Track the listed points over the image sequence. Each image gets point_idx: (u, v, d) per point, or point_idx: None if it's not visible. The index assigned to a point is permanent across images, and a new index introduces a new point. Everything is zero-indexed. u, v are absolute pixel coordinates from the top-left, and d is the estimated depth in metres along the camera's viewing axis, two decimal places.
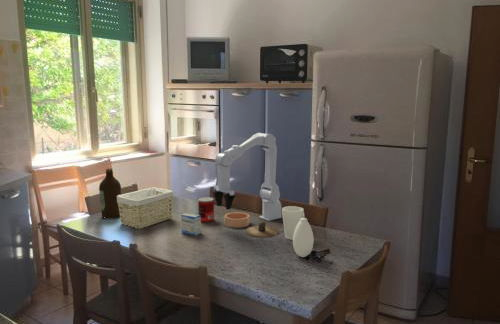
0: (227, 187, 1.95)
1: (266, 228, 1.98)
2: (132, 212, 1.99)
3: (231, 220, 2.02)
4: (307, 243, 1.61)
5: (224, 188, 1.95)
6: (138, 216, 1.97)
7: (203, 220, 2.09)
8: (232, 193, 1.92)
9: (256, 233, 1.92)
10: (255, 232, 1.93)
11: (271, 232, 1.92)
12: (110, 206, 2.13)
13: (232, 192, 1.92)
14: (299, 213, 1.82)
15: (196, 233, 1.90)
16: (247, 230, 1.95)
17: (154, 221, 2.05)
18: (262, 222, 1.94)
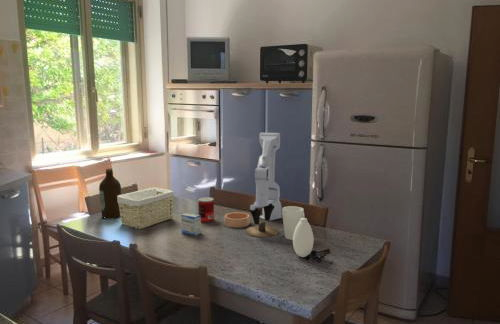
0: (258, 202, 1.91)
1: (266, 228, 1.98)
2: (133, 212, 1.99)
3: (231, 220, 2.02)
4: (307, 243, 1.61)
5: (256, 202, 1.92)
6: (139, 216, 1.97)
7: (203, 220, 2.09)
8: (251, 208, 1.88)
9: (256, 233, 1.92)
10: (255, 232, 1.93)
11: (271, 232, 1.92)
12: (110, 206, 2.13)
13: (251, 207, 1.88)
14: (299, 213, 1.82)
15: (196, 233, 1.90)
16: (247, 230, 1.95)
17: (155, 221, 2.05)
18: (262, 222, 1.94)
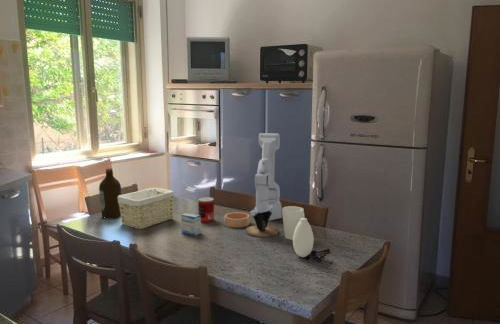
0: (258, 207, 1.91)
1: (266, 227, 1.98)
2: (133, 212, 1.99)
3: (231, 220, 2.02)
4: (307, 243, 1.61)
5: (256, 207, 1.92)
6: (139, 216, 1.97)
7: (203, 220, 2.09)
8: (251, 214, 1.88)
9: (256, 232, 1.92)
10: (255, 231, 1.93)
11: (271, 232, 1.92)
12: (110, 206, 2.13)
13: (251, 213, 1.88)
14: (299, 213, 1.82)
15: (196, 233, 1.90)
16: (247, 229, 1.95)
17: (155, 221, 2.05)
18: (262, 221, 1.94)
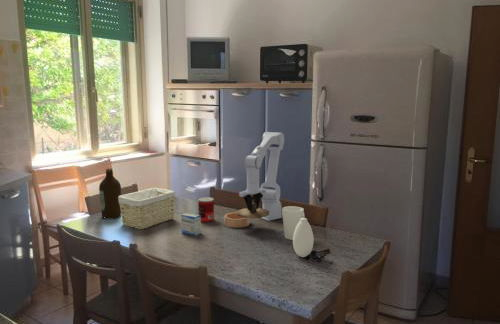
0: (248, 189, 1.95)
1: (258, 210, 2.01)
2: (134, 212, 1.99)
3: (231, 220, 2.02)
4: (307, 243, 1.61)
5: (247, 189, 1.96)
6: (140, 216, 1.96)
7: (203, 220, 2.09)
8: (240, 194, 1.93)
9: (245, 213, 1.95)
10: (246, 212, 1.96)
11: (260, 213, 1.95)
12: (110, 206, 2.13)
13: (240, 193, 1.93)
14: (299, 213, 1.82)
15: (196, 233, 1.90)
16: (239, 211, 2.00)
17: (156, 221, 2.04)
18: (253, 203, 1.97)
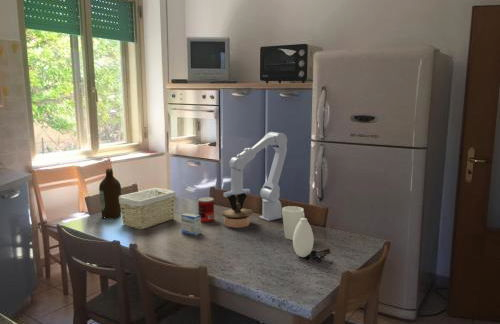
0: (232, 190, 2.03)
1: (243, 210, 2.09)
2: (134, 213, 1.98)
3: (231, 220, 2.02)
4: (307, 243, 1.61)
5: (231, 190, 2.04)
6: (140, 217, 1.96)
7: (203, 220, 2.09)
8: (224, 195, 2.01)
9: (230, 213, 2.03)
10: (230, 212, 2.04)
11: (244, 213, 2.02)
12: (110, 206, 2.13)
13: (224, 194, 2.01)
14: (299, 213, 1.82)
15: (196, 233, 1.90)
16: (224, 211, 2.08)
17: (156, 222, 2.04)
18: (237, 203, 2.05)
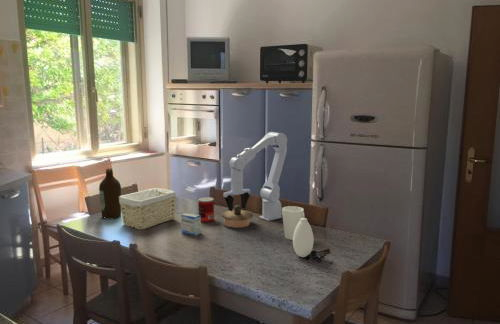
0: (232, 190, 2.03)
1: (243, 212, 2.09)
2: (135, 213, 1.98)
3: (231, 220, 2.02)
4: (307, 243, 1.61)
5: (231, 190, 2.04)
6: (141, 217, 1.96)
7: (203, 220, 2.09)
8: (224, 195, 2.01)
9: (230, 215, 2.03)
10: (230, 215, 2.05)
11: (244, 216, 2.03)
12: (110, 206, 2.13)
13: (224, 194, 2.01)
14: (299, 213, 1.82)
15: (196, 233, 1.90)
16: (224, 213, 2.08)
17: (157, 222, 2.04)
18: (237, 206, 2.05)
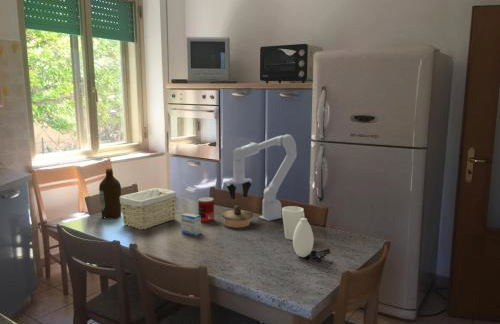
0: (234, 179, 2.13)
1: (243, 212, 2.09)
2: (135, 213, 1.98)
3: (231, 220, 2.02)
4: (307, 243, 1.61)
5: (233, 179, 2.14)
6: (141, 217, 1.96)
7: (203, 220, 2.09)
8: (227, 184, 2.11)
9: (230, 215, 2.03)
10: (230, 215, 2.05)
11: (244, 216, 2.03)
12: (110, 206, 2.13)
13: (227, 183, 2.11)
14: (299, 213, 1.82)
15: (196, 233, 1.90)
16: (224, 213, 2.08)
17: (157, 222, 2.04)
18: (237, 206, 2.05)
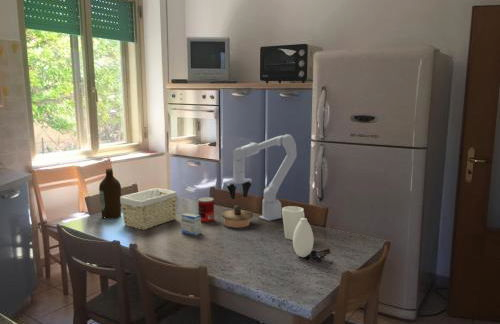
0: (234, 179, 2.13)
1: (243, 212, 2.09)
2: (136, 213, 1.98)
3: (231, 220, 2.02)
4: (307, 243, 1.61)
5: (233, 179, 2.14)
6: (142, 217, 1.95)
7: (203, 220, 2.09)
8: (227, 183, 2.11)
9: (230, 215, 2.03)
10: (230, 215, 2.05)
11: (244, 216, 2.03)
12: (110, 206, 2.13)
13: (227, 183, 2.11)
14: (299, 213, 1.82)
15: (196, 233, 1.90)
16: (224, 213, 2.08)
17: (158, 222, 2.04)
18: (237, 206, 2.05)
